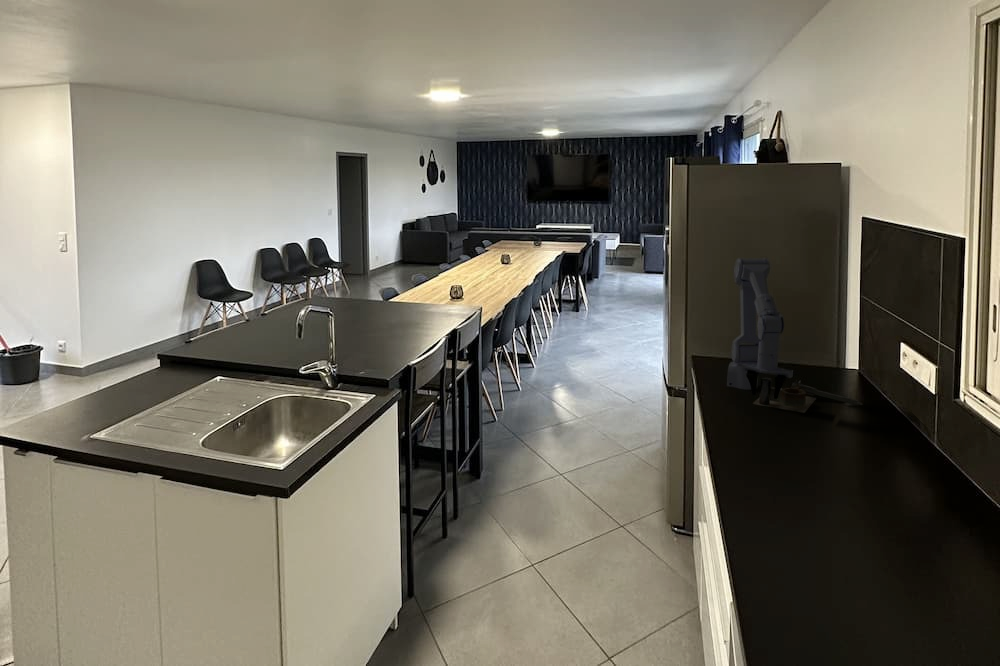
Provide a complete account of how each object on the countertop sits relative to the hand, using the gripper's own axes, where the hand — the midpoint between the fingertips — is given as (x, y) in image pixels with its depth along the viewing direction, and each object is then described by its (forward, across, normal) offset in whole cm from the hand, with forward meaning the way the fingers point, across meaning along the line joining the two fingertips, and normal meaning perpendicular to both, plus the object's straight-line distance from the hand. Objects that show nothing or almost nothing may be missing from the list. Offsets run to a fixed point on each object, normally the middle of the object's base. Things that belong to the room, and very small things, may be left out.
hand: (764, 396), depth 200 cm
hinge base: (+3, +4, +6) cm, 9 cm away
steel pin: (+2, 0, 0) cm, 2 cm away
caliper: (+3, +15, +14) cm, 21 cm away
